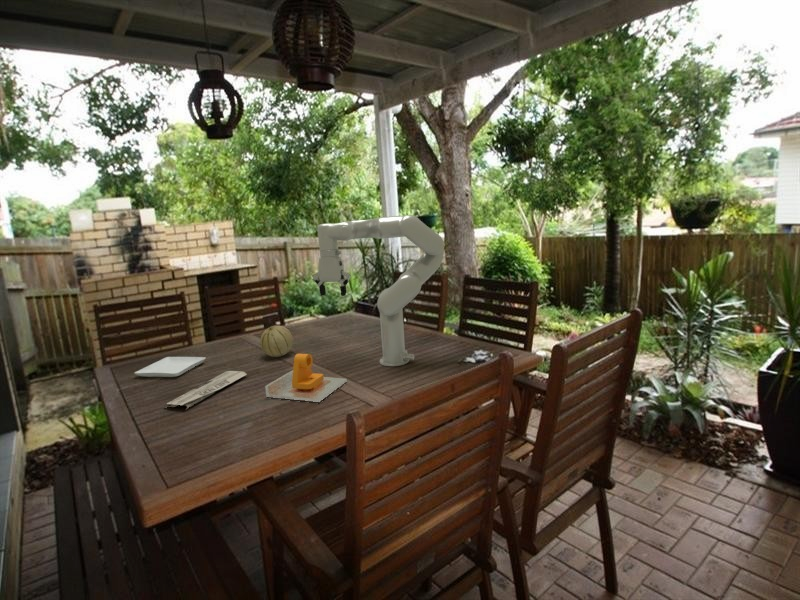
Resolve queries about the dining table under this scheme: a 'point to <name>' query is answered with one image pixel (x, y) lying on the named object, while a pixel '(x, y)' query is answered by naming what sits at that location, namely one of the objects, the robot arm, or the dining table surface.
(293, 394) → the plate
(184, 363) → the salad plate
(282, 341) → the cantaloupe
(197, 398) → the newspaper
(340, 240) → the robot arm
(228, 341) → the dining table surface
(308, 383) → the bracket
